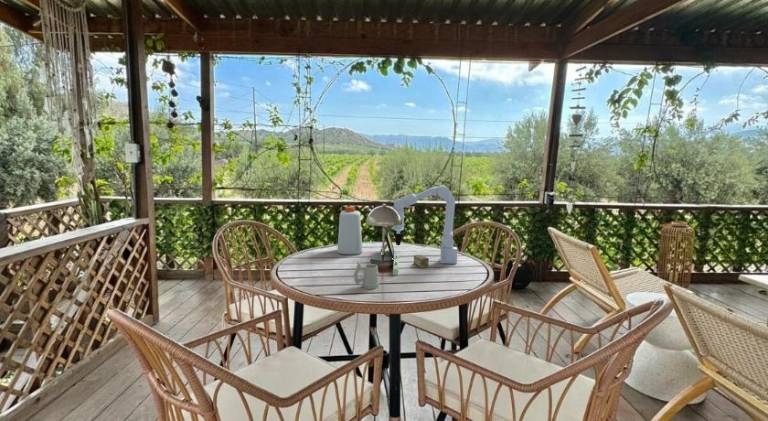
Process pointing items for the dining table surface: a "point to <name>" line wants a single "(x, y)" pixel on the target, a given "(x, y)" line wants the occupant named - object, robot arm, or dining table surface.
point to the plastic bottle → (349, 232)
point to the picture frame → (388, 243)
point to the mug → (367, 276)
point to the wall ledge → (395, 264)
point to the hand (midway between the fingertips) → (398, 243)
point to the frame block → (421, 261)
